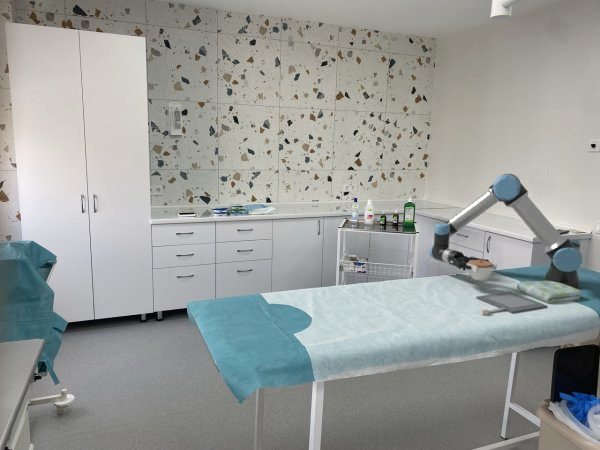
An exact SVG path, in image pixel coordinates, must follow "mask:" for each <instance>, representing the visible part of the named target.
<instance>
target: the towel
mask: <svg viewBox="0 0 600 450" xmlns="http://www.w3.org/2000/svg"><path fill="white" fill-rule="evenodd" d="M516 288H517V290H518V291H520V292H521V293H524V294H526V295H528V296H530V297H533V298H535V299H537V300H540V301H542V302H544V303H547V304H552V303H553V304H554V303H562V302H570V301H576V300H577V301H578V300H580V299H581V296H580V295H583V293H582V290H580V289H578V288H573V287H570V286H567V285H565V284H562V283H558V282H553V281H545V280H540V281H539V280H533V281H531V280H527V281H526V280H525V281H520V282H519V283H517V285H516Z"/></svg>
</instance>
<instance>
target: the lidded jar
mask: <svg viewBox="0 0 600 450" xmlns="http://www.w3.org/2000/svg"><path fill="white" fill-rule="evenodd" d="M482 259H483V258H480V259H479V260H471V261H468V264H471V265H475V266H478V271H477V272H473V271H470V270H468V269H467V271H468V274H469V276H471V279H473V280H475V281H486V280H487V279H488V278H489V277H490V276H491V274H492V271H493V269H492V265H493V264H492V263H493V262H491V261H489V262H488V261H483V260H482Z"/></svg>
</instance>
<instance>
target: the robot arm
mask: <svg viewBox="0 0 600 450" xmlns="http://www.w3.org/2000/svg"><path fill="white" fill-rule="evenodd" d="M528 195H529V191H528V189H526V187H525V186H524V185H523V184H522V182H521V181H520V178H519V177H518V176H517V175H515V174H513V173H504V174H501V175H500V176H498V177H497V178H496V179H495V180H494V182H493V184H491V185H490V186H489V187H488V190H487V191H485V192H484V193H482V195H480V196H479V197H477V198H476V199H475V200H474V201H472V202H471V203H469V204H468V205H467V206H465V207H464V208H462V209H461V210H460V211H459V212H457V213H456V214H454V215H453V216H452V217H451V218H450V219H448V220H447V221H446V222H445V223H442V222H440V223H438V222H437V223H436V224H435V225H434V231H433V232H434V236H433V237H434V238H433V241H434V242H433V245H431V246H430V248H429V250H428V253H429V256H430V257H431V259H434V260H436V261H439V262H443V263H445V264H448V265H449V266H450V265H452V266H454V267H456V268H458V269H459V270H461V269H462V271H466V270H467V271H468V270H470V271H473V272H477V271H478V266H475V265H471V264H468V261H471V260H479V259H482V260H483V261H488V262H490V260H489V259H487V258H486V259H484V258H481V257H480V258H479V257H475V256H465V255H464V253H463V252H461V251H458V250H455V249H452V248H450V238H451V237H452V236H453V235H455V234H456V233H457V232H458V231H460V230H462V229H463V228H464V227H465V226H467V225H468V224H470V222H472V221H474V220H475V219H476V218H478V217H479V216H480V215H482V214H483V213H485V212H486V211H487V210H490V208H492V207H493V206H494V205H495V204H497V203H501V202H502V203H503V204H504V206H506V208H512V209H513V211H514V212H515V213H516V215H517V216H518V217H519V218H520V219H521V220H522V221H523V222H524V224H525V225H526V226H527V227H528V229H529V230H530V231H531V232H532V233H533V234H534V235H535V237H536V238H537V239H538V240H539V242H540V243H541V244H542V245H543V246H544V253H545V254H546V255H547V256H548V257H549V258H550V266H549V268H548V270H547V272H546V275H545V277H544V281H553V282H558V283H562V284H565V285H567V286H570V287H573V288H576V289H578V288H579V287H580V277H579V274H578V269H579V268H580V267H581V265H582V263H583V255H582V252H580V248H581V241H580V240H579V239H574V238H569V237H567V236H562V235H561V233H560V232H559V231H558V230H557V229H556V227H554V226H553V224H552V223H551V222H550V220H548V218H547V217H546V216H545V215H544V214H543V213H542V211H541V210H540V209H539V208H538V207H537V205H536V204H535V203H534V202H533V200H531V198H530V197H529V196H528ZM491 263H492V264H493V265H492V270H494V271H497V265H498V264H497V263H494V262H491Z"/></svg>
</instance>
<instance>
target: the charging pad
mask: <svg viewBox="0 0 600 450" xmlns="http://www.w3.org/2000/svg"><path fill="white" fill-rule="evenodd" d="M475 299H477V300H478V301H481V302H485V303H486V304H489V305H491V306H493V307H496V308H492V309H488V308H486V307H480V308H478V311H477V314H479V315H481V316H484V315H485V316H487V315H489V314H490V313H497V312H501V311H502V312H503V311H505V312H508V313H510V314H515V313H522V312H528V311H534V310H540V309H546V308H548V305H546V304H543V303H542V302H539V301H535V300H533V299H530V298H528V297H525V296H523V295H520V294H517V293H514V292H512V291H506V292H505V291H504V292H498V293H493V294H492V293H491V294H485V295H479V296H478V295H477V296H476V297H475Z"/></svg>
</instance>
